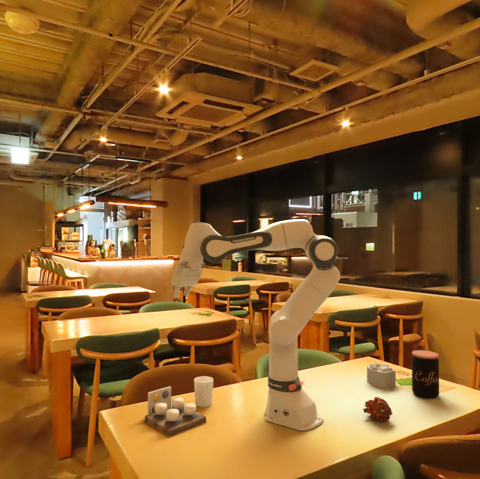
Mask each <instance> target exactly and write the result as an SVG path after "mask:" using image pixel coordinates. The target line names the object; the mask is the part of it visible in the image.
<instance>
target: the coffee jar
mask: <svg viewBox="0 0 480 479" xmlns="http://www.w3.org/2000/svg"><path fill="white" fill-rule="evenodd" d="M411 355H412V358H411V380H412V381H411V391H412V393H413V394H414V396H416V397H417V398H422V399H427V400H434V399H438V397H439V396H440V361H439V356H440V354H438V353H437V352H434V351H429V350H422V349H420V350H419V349H418V350H412V352H411Z"/></svg>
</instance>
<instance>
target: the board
mask: <svg viewBox="0 0 480 479" xmlns="http://www.w3.org/2000/svg"><path fill="white" fill-rule="evenodd" d="M169 409H175V408H173V407H172V406H171V407H170V408H167V410H169ZM178 410H179V419H178V420H176V421H168V420H166V413H165V414H161V415H159V414H155V413H152V414H149V415H148V414H146V415H144V422H145V423H146V424H148V425H150V426H151V427H153V428H155V429H156V430H158V431H160V432H161V433H163V434H164V435H166V436H168V437H172V436H173V435H177V434H179V433H182V432H184V431H186V430H190V429H191V428H192V429H193V428H195V427H197V426H200V425H202V424H204V423H207V416H205V415H204V414H202V413H200V412H197V411H196V413H195V414H192V415H186V414H184V407H183V408H179V409H178Z"/></svg>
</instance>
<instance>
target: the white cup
mask: <svg viewBox="0 0 480 479" xmlns="http://www.w3.org/2000/svg"><path fill="white" fill-rule="evenodd" d="M193 387H194V398H195V399H194V400H195V401H194V402H195V403H194V404H196V407H199V408H200V407H201V408H207V407H210V406H211V405H212V404H213V394H214V393H213V391H214V378H213V377H212V376H207V375H206V376H205V375H202V376H197V377H194V379H193Z"/></svg>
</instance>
